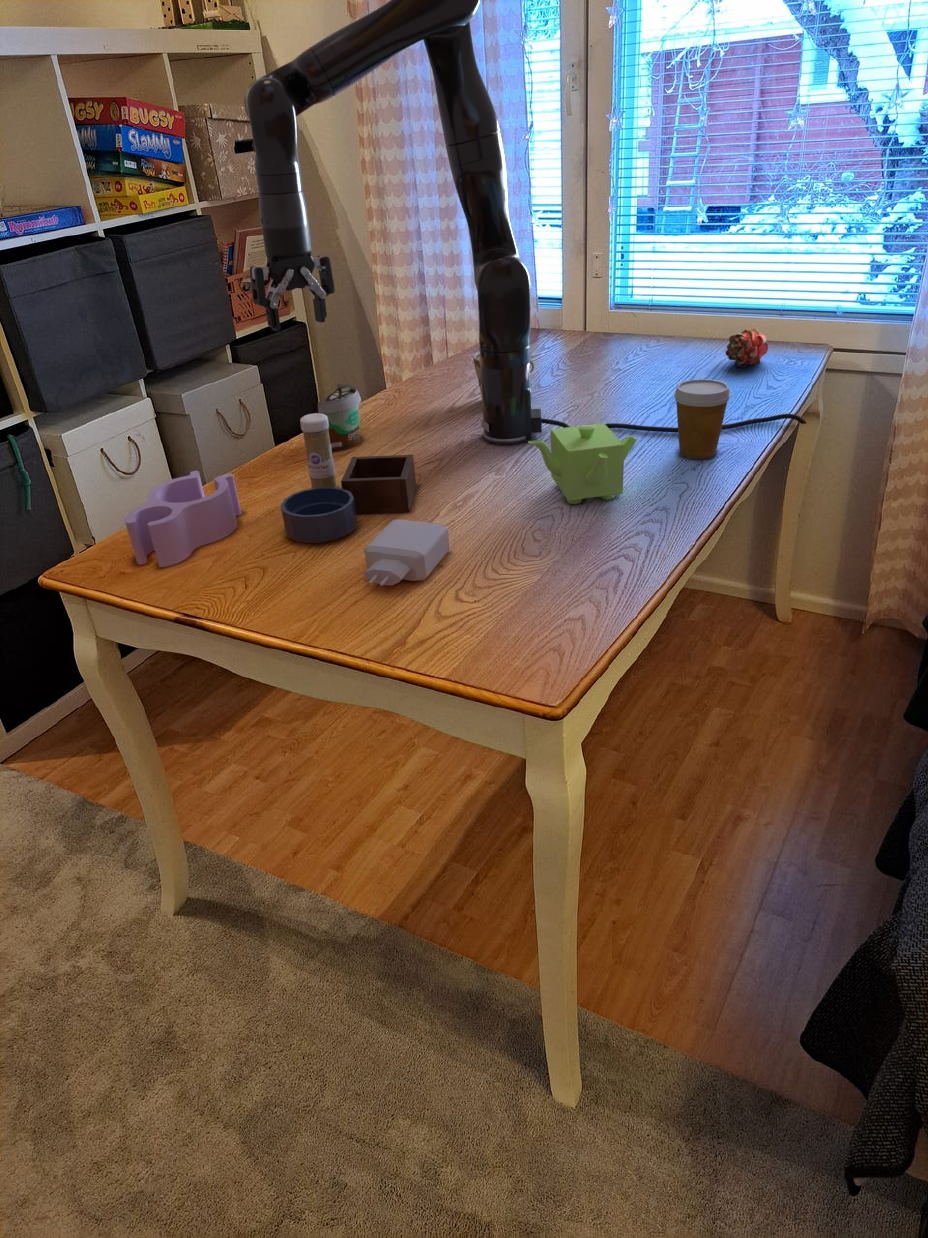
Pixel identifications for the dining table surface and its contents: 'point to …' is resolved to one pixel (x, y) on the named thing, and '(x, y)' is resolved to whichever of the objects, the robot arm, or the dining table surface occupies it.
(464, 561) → the dining table surface
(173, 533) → the clip
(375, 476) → the box
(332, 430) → the food container
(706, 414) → the disposable coffee cup
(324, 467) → the sprinkles bottle
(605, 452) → the kettle
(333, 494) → the bowl
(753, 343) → the dragon fruit
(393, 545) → the charger
